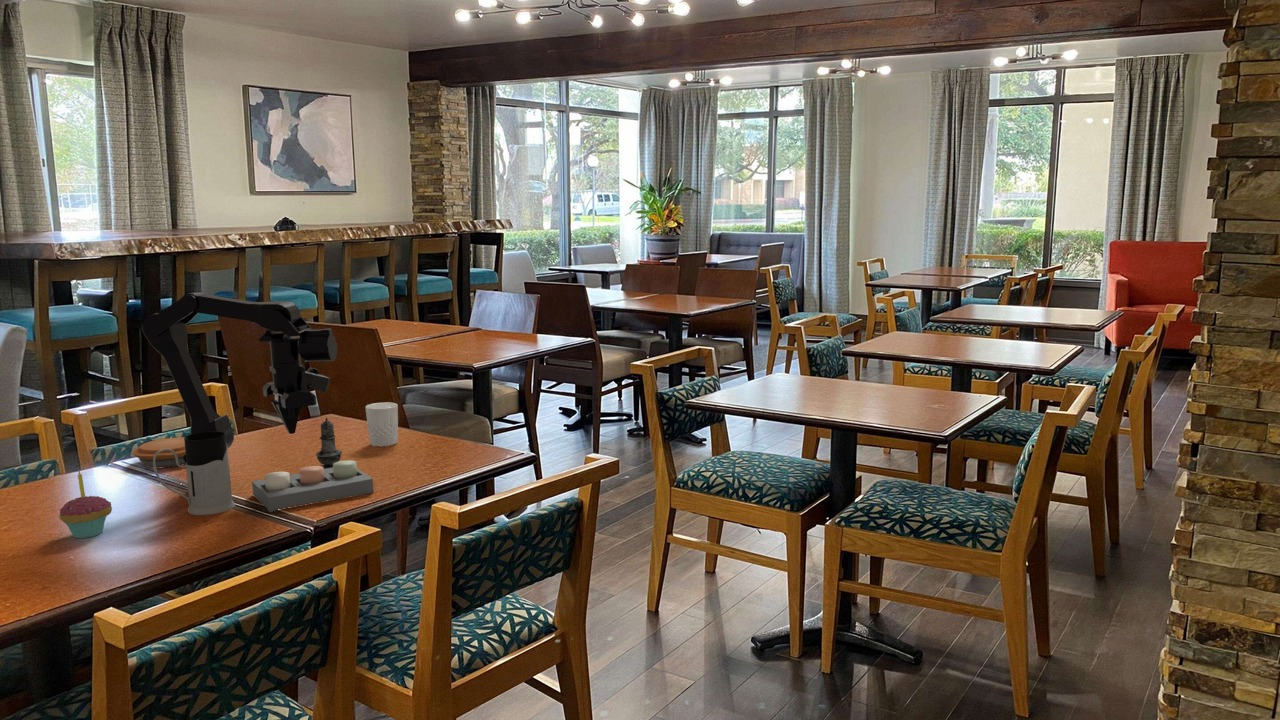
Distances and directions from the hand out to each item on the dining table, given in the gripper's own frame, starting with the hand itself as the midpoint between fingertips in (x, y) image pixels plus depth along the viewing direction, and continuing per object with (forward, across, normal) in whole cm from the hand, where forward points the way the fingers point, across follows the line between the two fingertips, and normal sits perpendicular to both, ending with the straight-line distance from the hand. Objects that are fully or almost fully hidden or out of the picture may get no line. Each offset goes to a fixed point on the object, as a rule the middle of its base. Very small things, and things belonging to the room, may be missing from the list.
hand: (291, 433), depth 198 cm
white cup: (+12, +25, -29) cm, 40 cm away
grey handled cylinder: (+12, -4, +20) cm, 24 cm away
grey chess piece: (+12, +11, -11) cm, 20 cm away
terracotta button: (+10, -7, -2) cm, 12 cm away
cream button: (+10, -7, +5) cm, 13 cm away
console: (+12, -7, -2) cm, 14 cm away
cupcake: (+12, -6, +39) cm, 42 cm away
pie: (+12, +41, +18) cm, 47 cm away
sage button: (+10, -7, -9) cm, 15 cm away
